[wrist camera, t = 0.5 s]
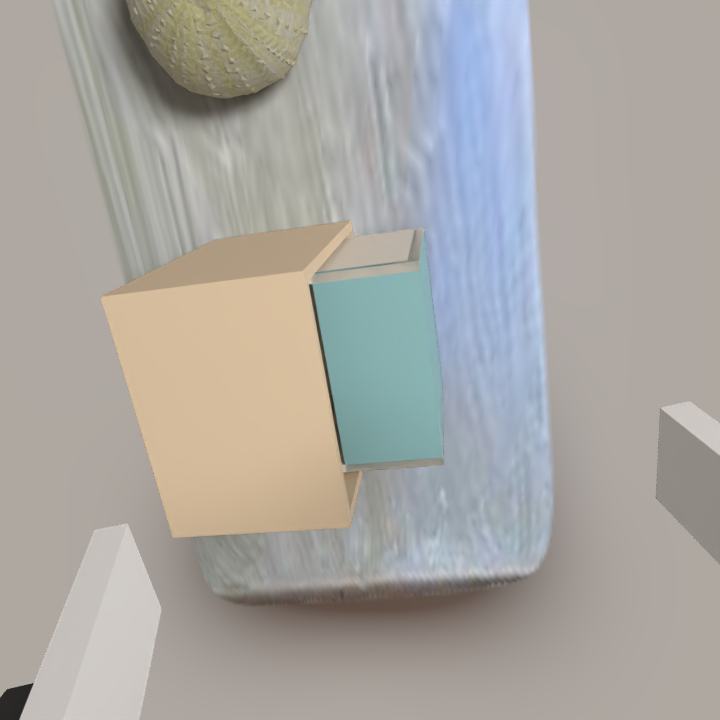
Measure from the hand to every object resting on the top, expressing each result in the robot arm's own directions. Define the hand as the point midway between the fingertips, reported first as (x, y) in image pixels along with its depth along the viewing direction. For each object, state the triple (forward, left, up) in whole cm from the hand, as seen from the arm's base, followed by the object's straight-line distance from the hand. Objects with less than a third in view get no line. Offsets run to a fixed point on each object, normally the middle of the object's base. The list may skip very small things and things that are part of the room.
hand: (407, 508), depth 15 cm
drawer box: (+4, -2, -21) cm, 21 cm away
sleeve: (+7, -4, -22) cm, 23 cm away
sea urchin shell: (-3, -18, -22) cm, 29 cm away
